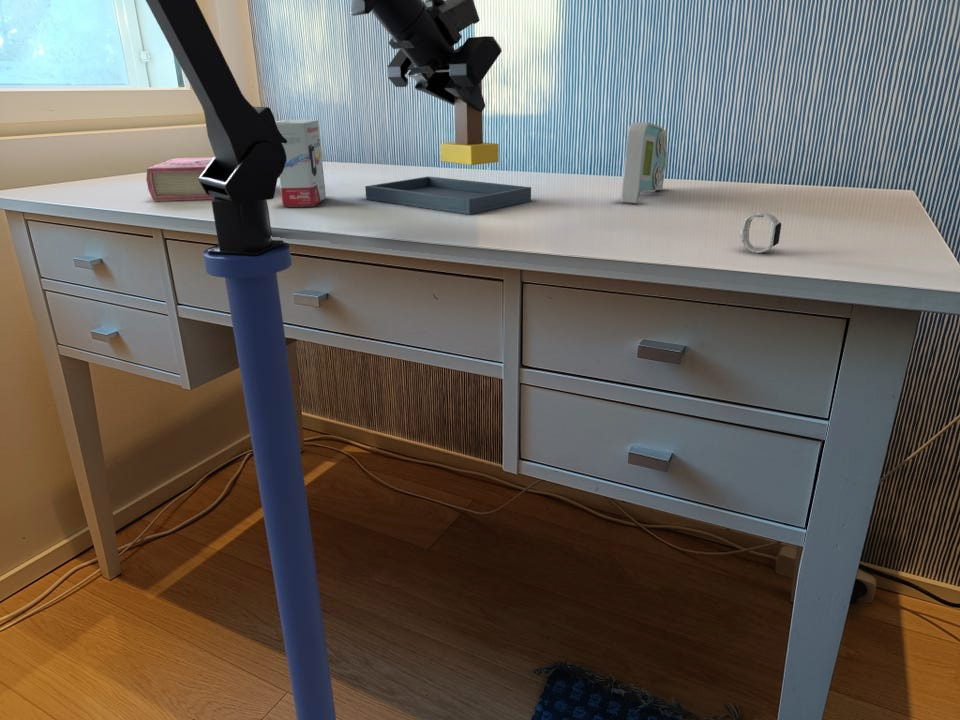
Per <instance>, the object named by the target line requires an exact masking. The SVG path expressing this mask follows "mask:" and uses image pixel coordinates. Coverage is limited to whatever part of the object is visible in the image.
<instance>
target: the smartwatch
mask: <svg viewBox="0 0 960 720" xmlns="http://www.w3.org/2000/svg"><path fill="white" fill-rule="evenodd" d="M764 217H765V218H767V219H768V220H769V221H770V222H771V225H770V230H769V233H768V242H767V244H768V247H766V248H764V247H763V248H757V247H755V246H754V245H753V244H752V243H751V241H750V229H751V223H752V221H753V220H754V219H756V218H764ZM781 231H782V222H781V221H779V220H778V218H777V217H776V216H775V215H773V214H772V213H770V212H767V211H759V212H756V213H753V214H750V215H749V216H747V217H746V218H745V219H744V223H743V224H742V225H741V229H740V232H739V233H740V241H741V243H742V245H743V246H744V247H745V248H746V249H747V250H748V251H750V252H751V253H754V254H761V253H765V252H767V251H770V249H772V248H773V247H775V246H776V245H778V244H779V243H780V237H781Z"/></svg>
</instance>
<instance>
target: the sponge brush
mask: <svg viewBox="0 0 960 720" xmlns="http://www.w3.org/2000/svg"><path fill="white" fill-rule="evenodd" d="M479 85H480V89H481V92H482V93H483V80H482V81H481V82H480V83H479ZM453 106H454V108H453V109H454V111H453V112H454V138H455V139H454V142H453V141H452V142H441V143H440V162H443V163H450V164H458V165H459V164H460V165H467V166H476V165H486V164H493V163H494V164H495V163H499V162H500V161H499V155H500V153H499V143H493V142H484V133H483V132H484V131H483V126H484V125H483V123H484V121H483V111H482V112H479V111H478V110H476V109H474V108H473V107H471V106H470V105H468V104H467V103H465V102H464V101H462V100H461V99H459V98H458V97H456V96H454V105H453Z"/></svg>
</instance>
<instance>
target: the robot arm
mask: <svg viewBox="0 0 960 720" xmlns="http://www.w3.org/2000/svg"><path fill="white" fill-rule="evenodd" d="M145 2H146V4H147V6H148V8H149V10H150V12H151V13H152V16H153V17H154V19H155V21H156V23H157V25H158V26H159V29H160V30H161V32H162V34H163V36H164V38H165V40H166V41H167V43H168V45H169V47H170V49H171V51H172V53H173V55H174V56H175V58H176V60H177V62H178V65H179V66H180V68H181V70H182V72H183V74H184V75H185V78H186V79H187V82H188V83H189V85H190V86H191V89H192V90H193V92H194V94H195V96H196V98H197V100H198V102H199V103H200V105H201V108H202V111H203V114H204V121H205V126H206V133H207V139H208V140H209V144H210V146H211V149H212V153H213V155H214V156H213V157H214V158H213V160H212V161H211V162H210V164H209V165H208V166H207V168H206V169H205V170H204V171H203V173H202V174H201V175H200V177H199V179H198V180H199V182H200V184H201V186H202V188H203V190H204V191H205V193H206V195H209V196H215V198H213V199H212V200H210V201H211V202H210V203H211V208H212V213H213V219H214V227H215V232H216V239H217V244H218V245H219V246H217V245H216V246H217V247H214V246H213V247H214V248H212V249H209V250H208V254H210V255H233V256H260V255H262V254H264V253H266V252H269V251H271V250H273V249H275V248H277V247H280V246H282V245H284V240H279V239H273V238H272V227H271V219H270V218H271V217H270V210H269V205H268V201H269V200H273V199H274V198H275V193H276V189H277V184H278V180H279V177H280V175H281V174H282V172H283V170H284V166H285V163H286V162H287V156H286V152H285V149H284V146H283V145H282V143H287V140H286V139H285V138H284V137H283V136H282V135H281V133H280V132H279V130H278V128H277V125H276V119H275V116H274V113H273V111H272V110H271V108H270V107H268V106H253V105H252V104H251V103H250V102H249V100H248V99H247V98H246V97H245V96H244V94H243V93H242V91H241V89H240V87H239V85H238V83H237V80H236V78H235V76H234V74H233V72H232V71H231V69H230V66H229V64H228V62H227V61H226V58H225V56H224V54H223V52H222V50H221V48H220V46H219V44H218V42H217V39H216V38H215V36H214V34H213V32H212V30H211V28H210V25H209V23H208V22H207V19H206V17H205V16H204V14H203V12H202V10H201V7H200V5H199V4H198V1H197V0H145ZM370 13H371V14H373V16H374V17H375V18H376V20H377V21H378V22H379V23H380V24H381V26H382V27H383V28H384V29H385V31H386V32H387V33H388V34H389V36H390V37H391V38H390V39H389V41H388V44H389V46H390V47H391V48H392V49H393V50H397V52H396V54H395V55H394V57H393V58H392V59H391V60H390V62H389V64H388V65H387V67H386V74H387V79H388V80H389V81H390V82H391V83H392V84H393V86H394V87H395V88H407V87H408V85H409V79H408V78H407V76H408V77H409V78H413V79H414V81H415V82H416V84H415V85H414V89H415V90H416V91H419V92H422V93H424V94H427V95H429V96H431V97H434V98H436V99H438V100H441V101H442V102H445V103H447V104H450V105H452V106H454V96H456V97H458V98H459V99H461V100H462V101H464V102H465V103H467V104H468V105H470V106H471V107H473V108H474V109H476V110H478V111H479V112H482V113H483V111H484V110H485V108H486V103H485V99H484V96H483V91H482V92H481V89H480V85H479V83H480V82H481V81H482V82H483V79H484V78H485V77H486V75H487V74H488V72H489V71H490V69H492V67H493V65H494V64H495V62H496V60H497V59H498V58H499V56H500V55H501V54H502V51H503V50H502V47H501V45H500V44H499V42H498V41H497V40H496V39H495V36H493V35H492V36H491V35H490V36H489V35H486V36H485V35H483V36H472V37H467V39H466V40H465V41H464V43H463V44H462V45H459V46H458V47H457V48H456V49H455V47H454V46H455V45H456V44H458V43H459V42H460V40H461V39H462V37H463V35H462V34H461V33H460V32H462V31H463V30H465V29H466V28H468V27H470V26H471V25H473V24H474V25H476V24H477V23H479V22H480V17H479V14H478V11H477V7H476V4H475V1H474V0H425V1H424V0H351V1H350V15H351V16H353V17H357V16H362V15H369V14H370ZM398 49H399V50H398ZM406 75H407V76H406Z"/></svg>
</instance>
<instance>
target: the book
mask: <svg viewBox="0 0 960 720" xmlns="http://www.w3.org/2000/svg"><path fill="white" fill-rule="evenodd" d="M214 157H215V156H211V157H210V156H207V157H176V158H175V157H174V158H172V159H169V160H163V161H164V162H161V163H158V164H155V165H154V164H153V165H151V166H149V167H147V168H146V179H145V180H146V185H147V190H148V192H149V195H150V197H151V199H152V201H153V202H169V201H170V202H171V201H199V200H213V198H215V196H209V195H206V193H205V191H204V190H203V188H202V186H201V184H200V182H199V180H198V179H199V177H200V175H201V174H202V173H203V171H204V170H205V169H206V168H207V166H208V165H209V164H210V162H211V161H212V160H213V158H214Z"/></svg>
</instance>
